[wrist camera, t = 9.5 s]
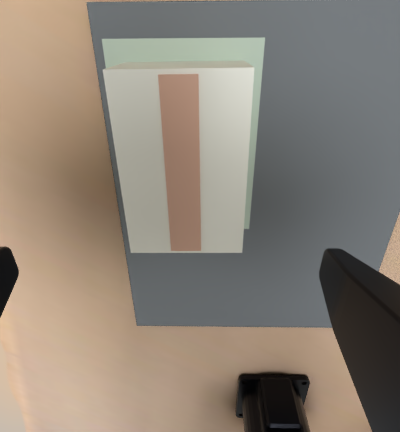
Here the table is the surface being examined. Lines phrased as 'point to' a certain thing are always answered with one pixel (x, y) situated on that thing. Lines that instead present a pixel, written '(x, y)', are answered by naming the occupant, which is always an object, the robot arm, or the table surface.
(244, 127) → the card deck
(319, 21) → the rubber mat
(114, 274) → the table surface
